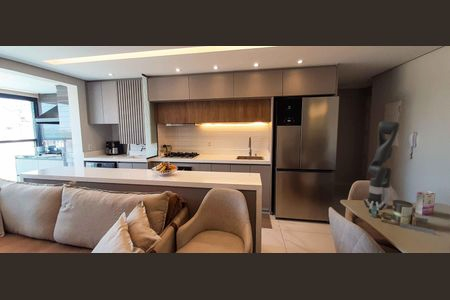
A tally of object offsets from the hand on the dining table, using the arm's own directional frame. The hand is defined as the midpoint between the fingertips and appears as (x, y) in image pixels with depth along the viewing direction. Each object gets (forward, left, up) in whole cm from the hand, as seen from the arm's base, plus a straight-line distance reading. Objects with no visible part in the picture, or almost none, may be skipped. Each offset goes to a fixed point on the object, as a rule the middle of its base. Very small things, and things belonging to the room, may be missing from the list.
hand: (373, 213), depth 142 cm
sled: (+10, 0, -1) cm, 10 cm away
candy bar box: (+31, +27, -2) cm, 41 cm away
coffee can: (+15, 0, -2) cm, 15 cm away
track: (+21, 0, -2) cm, 21 cm away
